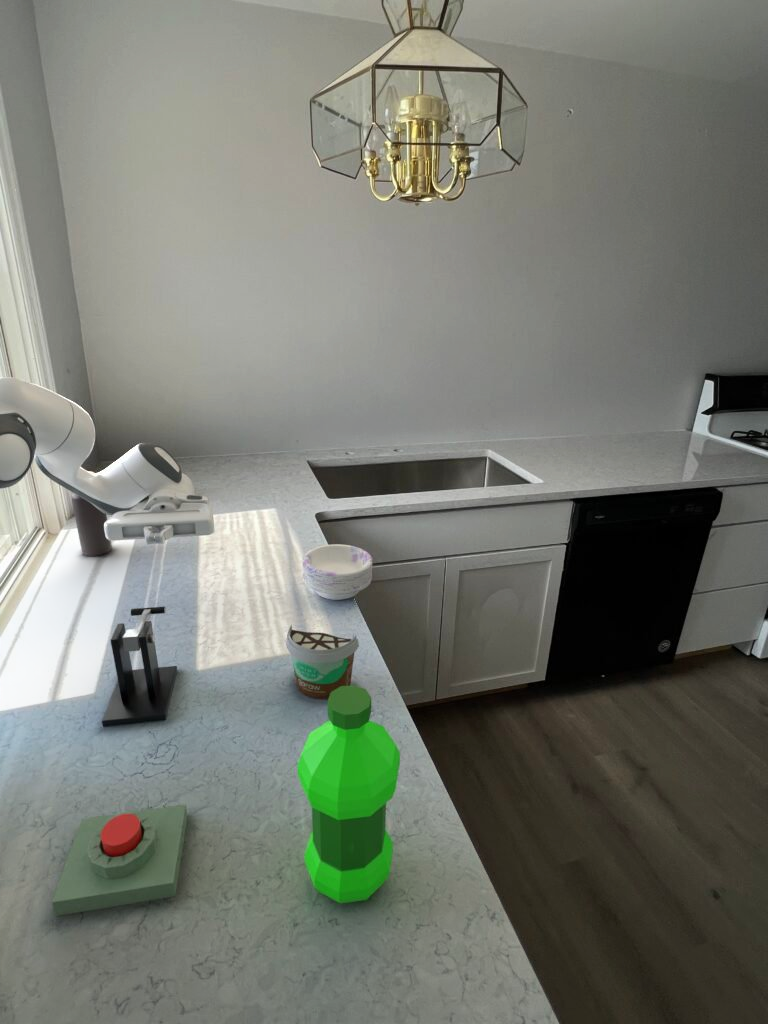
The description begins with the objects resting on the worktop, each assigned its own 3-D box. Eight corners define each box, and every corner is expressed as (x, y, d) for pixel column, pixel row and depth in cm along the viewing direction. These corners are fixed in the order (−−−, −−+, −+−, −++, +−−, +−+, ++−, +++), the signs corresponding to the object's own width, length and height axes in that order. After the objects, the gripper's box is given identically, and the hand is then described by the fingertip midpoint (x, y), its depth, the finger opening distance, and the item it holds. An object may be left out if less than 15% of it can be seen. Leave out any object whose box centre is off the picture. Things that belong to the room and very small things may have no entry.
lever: (133, 617, 97) (131, 604, 96) (166, 614, 98) (165, 602, 97) (112, 653, 84) (110, 638, 84) (150, 649, 85) (149, 635, 85)
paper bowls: (385, 586, 125) (386, 554, 123) (343, 615, 114) (343, 581, 111) (332, 567, 133) (332, 537, 130) (288, 593, 122) (287, 560, 119)
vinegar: (75, 554, 136) (60, 476, 129) (96, 543, 142) (82, 468, 135) (98, 558, 135) (83, 480, 127) (118, 547, 141) (105, 471, 133)
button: (98, 859, 61) (96, 848, 60) (108, 827, 64) (106, 816, 64) (137, 853, 61) (135, 842, 61) (145, 822, 65) (143, 811, 64)
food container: (275, 696, 91) (272, 645, 87) (290, 673, 96) (288, 624, 93) (348, 710, 88) (348, 658, 84) (358, 685, 94) (359, 635, 90)
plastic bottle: (292, 915, 59) (282, 731, 50) (318, 828, 69) (314, 660, 60) (385, 932, 58) (392, 747, 48) (399, 841, 67) (407, 671, 58)
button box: (55, 916, 58) (48, 890, 57) (84, 831, 68) (78, 807, 66) (175, 896, 61) (171, 871, 59) (187, 817, 70) (184, 793, 68)
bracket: (122, 676, 94) (110, 611, 90) (177, 671, 96) (168, 607, 91) (102, 727, 84) (88, 656, 79) (165, 720, 85) (155, 650, 80)
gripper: (111, 501, 113) (91, 528, 100) (215, 496, 117) (209, 521, 104) (116, 529, 115) (97, 559, 103) (218, 523, 119) (212, 552, 106)
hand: (154, 540), depth 103 cm, fingers closed
